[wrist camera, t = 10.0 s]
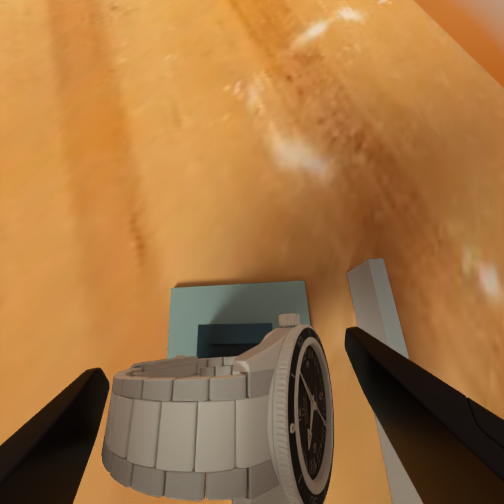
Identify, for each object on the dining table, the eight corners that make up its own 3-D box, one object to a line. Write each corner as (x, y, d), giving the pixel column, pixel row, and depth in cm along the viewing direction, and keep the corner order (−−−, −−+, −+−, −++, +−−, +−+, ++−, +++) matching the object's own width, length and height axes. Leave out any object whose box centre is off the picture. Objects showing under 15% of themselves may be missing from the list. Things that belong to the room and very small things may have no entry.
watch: (303, 415, 15) (424, 605, 4) (175, 418, 15) (-5, 619, 4) (295, 323, 17) (369, 304, 6) (182, 325, 17) (68, 309, 6)
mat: (326, 456, 14) (328, 460, 14) (163, 469, 14) (160, 472, 14) (303, 281, 18) (304, 280, 18) (172, 289, 18) (171, 287, 17)
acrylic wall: (420, 550, 13) (477, 623, 10) (402, 551, 13) (453, 625, 10) (359, 271, 18) (383, 258, 15) (346, 272, 18) (367, 259, 15)
